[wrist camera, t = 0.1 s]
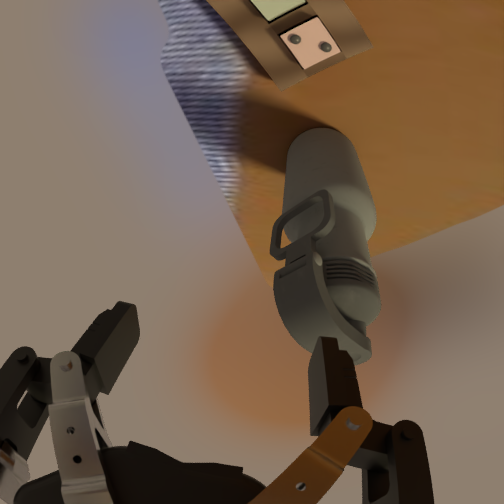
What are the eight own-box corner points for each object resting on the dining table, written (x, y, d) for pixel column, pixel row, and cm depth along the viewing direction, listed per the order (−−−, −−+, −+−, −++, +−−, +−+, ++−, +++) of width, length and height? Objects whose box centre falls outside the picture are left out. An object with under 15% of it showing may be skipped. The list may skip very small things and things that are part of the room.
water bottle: (270, 151, 38) (233, 339, 19) (325, 109, 33) (363, 289, 13) (316, 197, 43) (318, 381, 24) (368, 163, 37) (421, 351, 18)
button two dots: (281, 35, 24) (279, 36, 22) (315, 17, 22) (317, 16, 20) (303, 66, 26) (304, 69, 24) (337, 49, 24) (341, 52, 22)
